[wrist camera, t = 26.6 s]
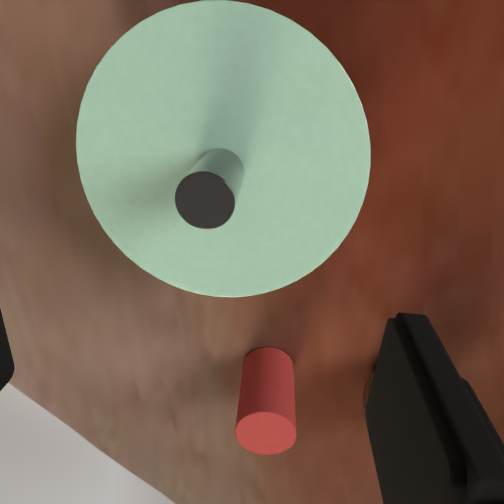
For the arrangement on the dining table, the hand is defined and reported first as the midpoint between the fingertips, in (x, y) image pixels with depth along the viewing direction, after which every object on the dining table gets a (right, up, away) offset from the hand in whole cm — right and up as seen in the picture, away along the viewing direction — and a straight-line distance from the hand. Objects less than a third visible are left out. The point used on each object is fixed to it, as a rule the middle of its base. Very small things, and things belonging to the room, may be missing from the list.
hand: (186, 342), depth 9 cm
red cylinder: (+3, -8, +25) cm, 27 cm away
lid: (0, +7, +12) cm, 14 cm away
